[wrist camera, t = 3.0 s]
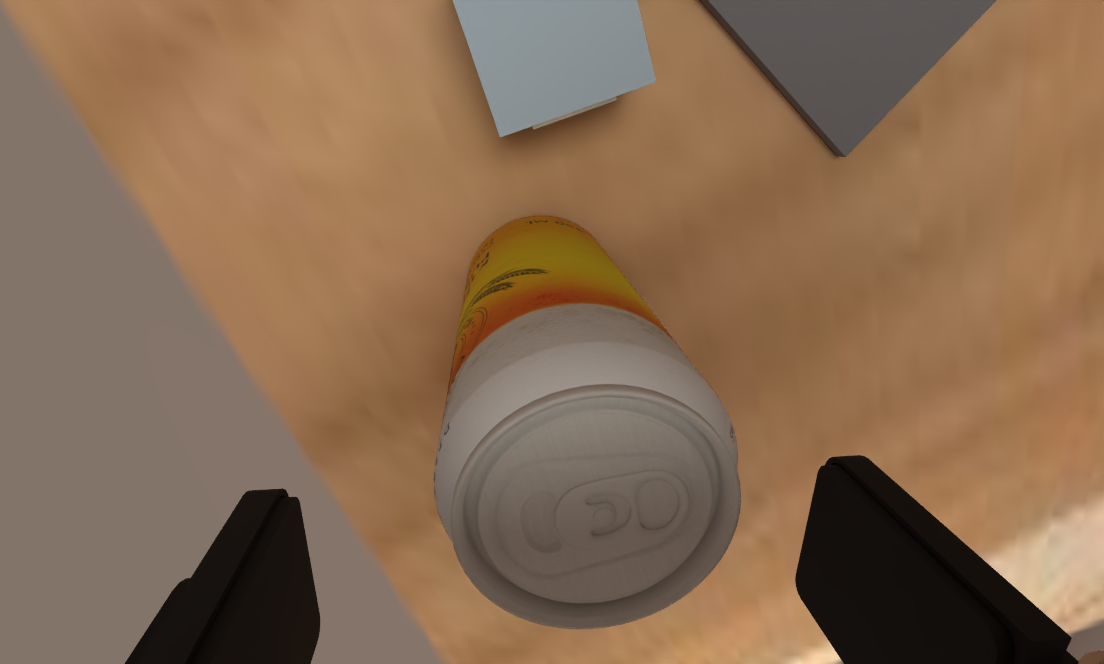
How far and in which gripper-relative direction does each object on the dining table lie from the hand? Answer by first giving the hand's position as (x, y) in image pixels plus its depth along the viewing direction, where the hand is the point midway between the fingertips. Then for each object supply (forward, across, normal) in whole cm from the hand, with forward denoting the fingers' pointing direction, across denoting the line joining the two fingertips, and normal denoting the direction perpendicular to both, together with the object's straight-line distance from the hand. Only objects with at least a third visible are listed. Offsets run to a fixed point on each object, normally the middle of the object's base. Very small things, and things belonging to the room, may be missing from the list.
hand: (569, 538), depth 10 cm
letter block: (+15, -1, -10) cm, 18 cm away
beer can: (+15, -1, 0) cm, 15 cm away
